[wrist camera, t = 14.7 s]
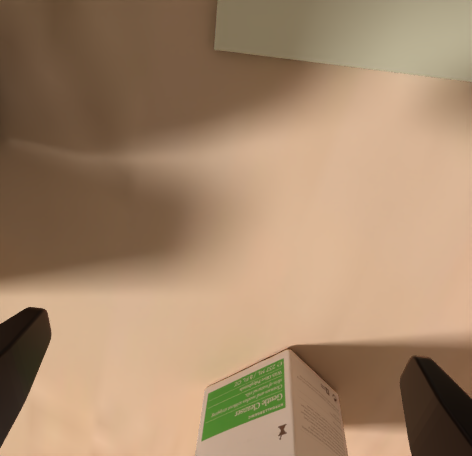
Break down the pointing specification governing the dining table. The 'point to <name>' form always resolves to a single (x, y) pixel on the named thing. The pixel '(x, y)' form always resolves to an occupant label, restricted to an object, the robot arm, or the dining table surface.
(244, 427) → the skincare box
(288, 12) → the arena board
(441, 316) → the dining table surface
